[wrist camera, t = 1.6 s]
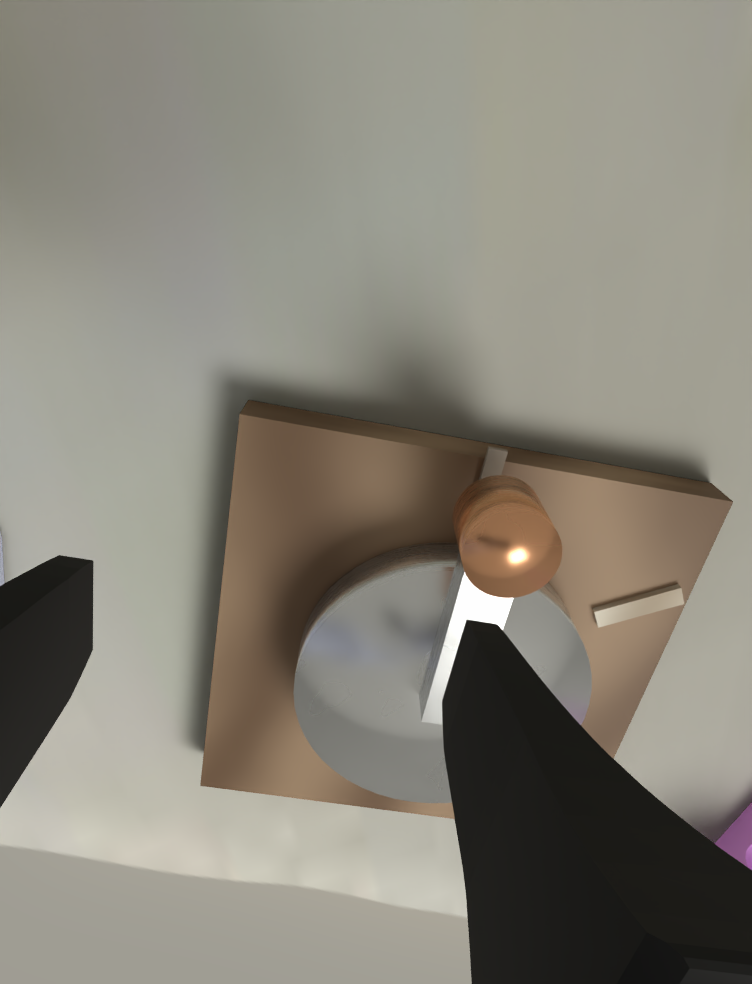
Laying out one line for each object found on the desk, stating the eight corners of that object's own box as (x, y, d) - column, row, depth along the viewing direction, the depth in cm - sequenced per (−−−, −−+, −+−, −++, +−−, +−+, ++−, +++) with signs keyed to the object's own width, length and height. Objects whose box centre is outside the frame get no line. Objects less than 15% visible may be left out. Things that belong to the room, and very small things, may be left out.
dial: (530, 779, 26) (557, 878, 22) (282, 745, 25) (266, 841, 21) (651, 480, 20) (713, 543, 17) (338, 424, 20) (329, 478, 16)
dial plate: (209, 756, 28) (199, 790, 26) (249, 388, 21) (239, 404, 19) (568, 804, 29) (579, 840, 27) (715, 472, 22) (742, 493, 21)
